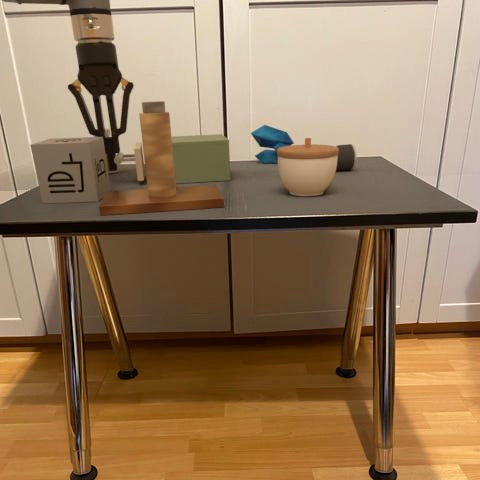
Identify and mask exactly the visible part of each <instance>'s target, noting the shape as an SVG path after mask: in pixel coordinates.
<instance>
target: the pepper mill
mask: <svg viewBox="0 0 480 480" xmlns="http://www.w3.org/2000/svg"><path fill="white" fill-rule="evenodd" d="M141 109H142V112H140V113H138V116H139V124H140V125H139V126H140V134H141V143H142V150H143V158H144V167H145V175H146V176H145V177H146V186H147V189H148V195H149V196H150V197H155V198H162V197H170V196H174V195H176V187H177V184H176V182H175V171H174V160H173V148H172V137H173V136H172V128H171V116H170V111H166V102H165V101H163V100H154V101H153V100H152V101H142V102H141Z"/></svg>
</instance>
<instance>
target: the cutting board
mask: <svg viewBox="0 0 480 480" xmlns="http://www.w3.org/2000/svg"><path fill="white" fill-rule="evenodd" d="M220 208H225V198H224V196H223V195H222V193H221V191H220V189H219V188H218V186H217V185H216V184H208V185H207V184H206V185H191V186H189V185H188V186H176V195H174V196H170V197H162V198H155V197H150V196H149V195H148V188H141V189H124V190H111V191H106V193H105V195H104V197H103V198H102V199H101V200H100V203H99V205H98V210H99V215H100V216H114V215H128V214H142V213H143V214H144V213H157V212H158V213H160V212H174V211H175V212H176V211H189V210H204V209H220Z"/></svg>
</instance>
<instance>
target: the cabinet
mask: <svg viewBox="0 0 480 480" xmlns="http://www.w3.org/2000/svg"><path fill="white" fill-rule="evenodd" d="M171 137H172V148H173V160H174V171H175V182H176V185H180V184H181V185H182V184H193V183H194V184H196V183H197V184H198V183H211V182H212V183H213V182H229V181H231V161H230V160H231V158H230V157H231V155H230V139H228V138H227V137H226V136H225V135H224V134H222V133H217V134H198V135H197V134H195V135H174V136H171Z"/></svg>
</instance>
